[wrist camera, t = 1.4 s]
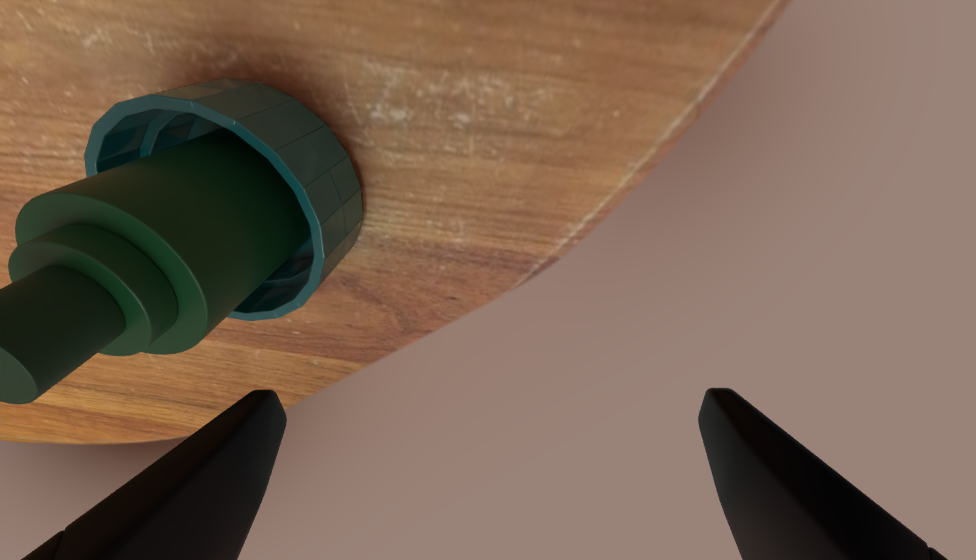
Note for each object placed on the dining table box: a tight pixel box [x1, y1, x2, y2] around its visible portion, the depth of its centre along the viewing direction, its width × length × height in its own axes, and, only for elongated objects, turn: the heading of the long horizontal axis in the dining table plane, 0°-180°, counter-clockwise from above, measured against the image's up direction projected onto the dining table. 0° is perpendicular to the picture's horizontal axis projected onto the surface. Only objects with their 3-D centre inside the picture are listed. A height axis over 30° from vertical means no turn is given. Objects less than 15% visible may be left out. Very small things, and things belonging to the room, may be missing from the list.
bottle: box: [0, 128, 311, 404], centre depth 17 cm, size 6×6×13 cm
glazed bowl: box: [84, 78, 363, 321], centre depth 20 cm, size 10×10×5 cm
